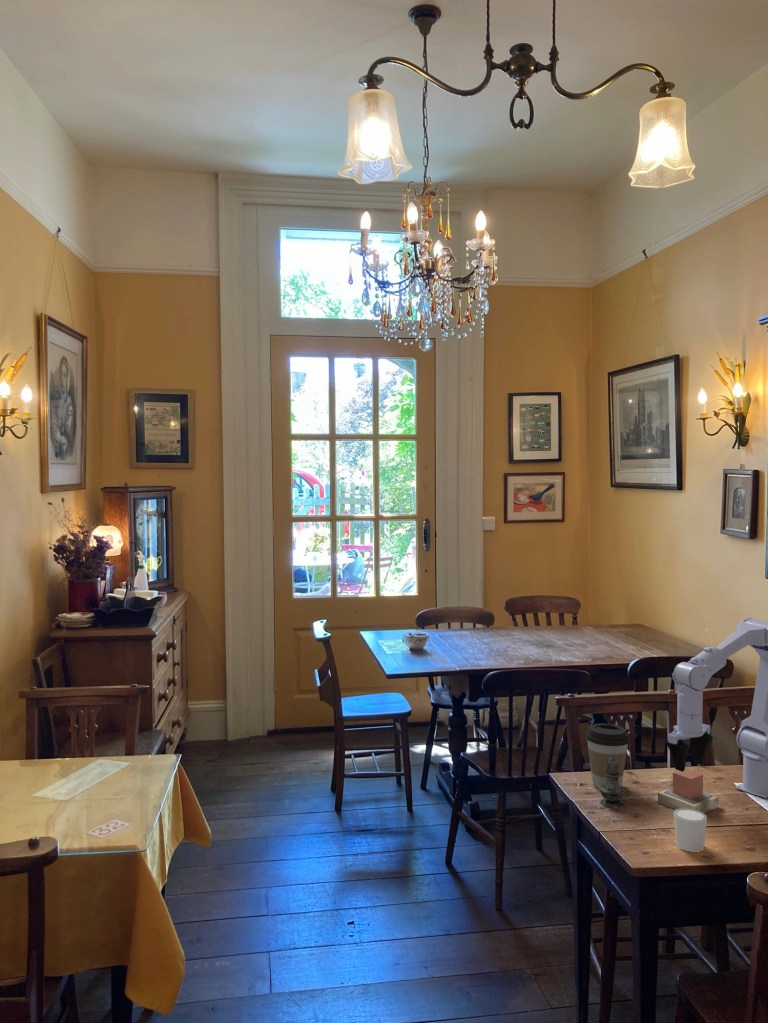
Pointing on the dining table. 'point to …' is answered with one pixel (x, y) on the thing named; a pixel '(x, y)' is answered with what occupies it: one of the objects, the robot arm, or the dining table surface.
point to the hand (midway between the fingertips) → (688, 766)
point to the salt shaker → (612, 785)
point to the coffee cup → (606, 750)
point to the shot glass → (690, 829)
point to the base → (688, 801)
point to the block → (688, 783)
